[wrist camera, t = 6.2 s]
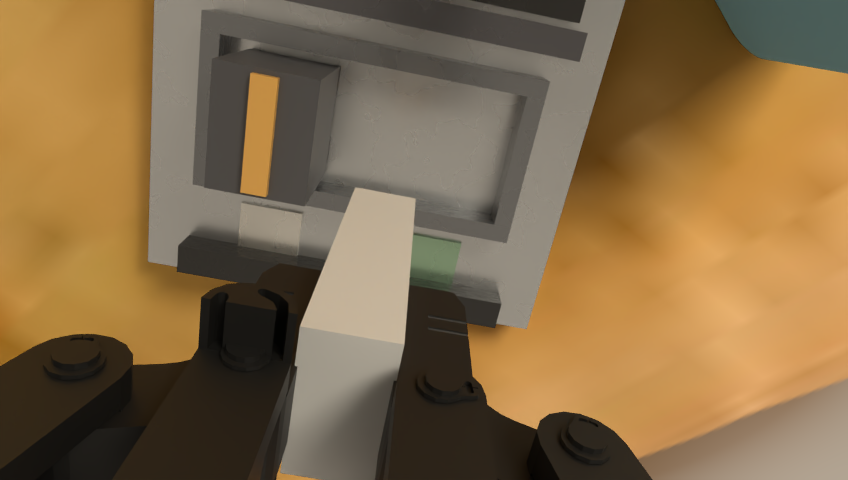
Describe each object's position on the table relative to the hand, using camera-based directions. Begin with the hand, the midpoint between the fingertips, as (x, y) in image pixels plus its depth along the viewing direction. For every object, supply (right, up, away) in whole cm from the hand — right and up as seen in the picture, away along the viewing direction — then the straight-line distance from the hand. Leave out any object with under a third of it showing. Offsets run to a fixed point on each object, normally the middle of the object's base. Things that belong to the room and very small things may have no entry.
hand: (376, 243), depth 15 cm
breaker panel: (-1, +6, +15) cm, 16 cm away
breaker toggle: (-5, +6, +12) cm, 15 cm away
